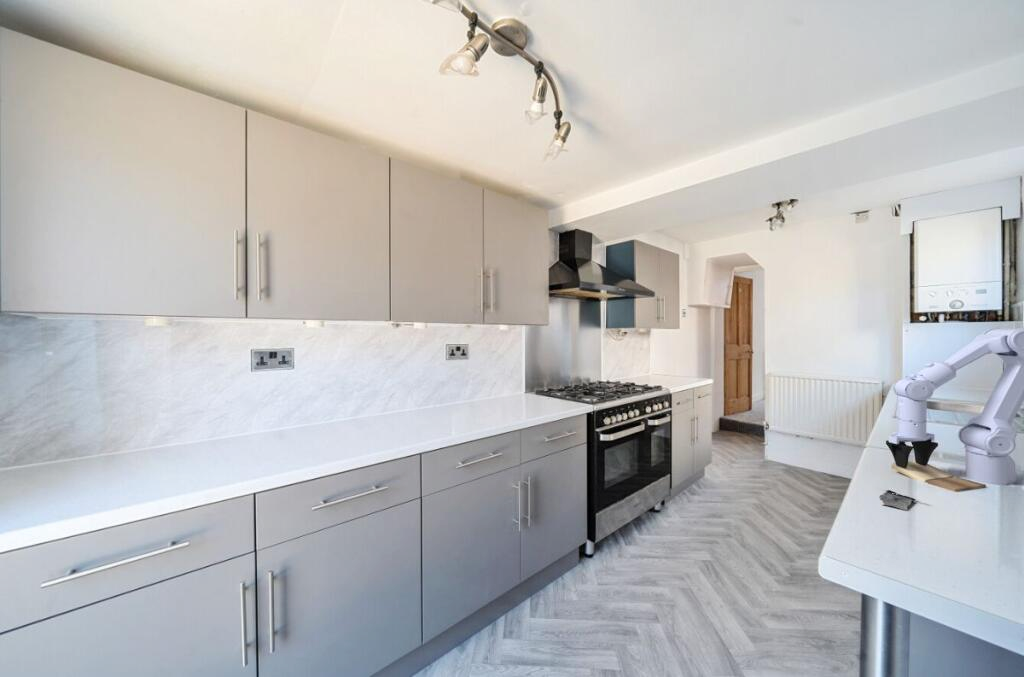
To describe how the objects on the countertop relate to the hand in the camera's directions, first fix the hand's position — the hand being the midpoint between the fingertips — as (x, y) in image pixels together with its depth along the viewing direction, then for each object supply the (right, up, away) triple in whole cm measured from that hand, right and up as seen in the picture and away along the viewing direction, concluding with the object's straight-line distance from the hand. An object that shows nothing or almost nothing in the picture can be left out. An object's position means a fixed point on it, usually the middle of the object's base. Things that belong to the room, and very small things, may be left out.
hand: (911, 465), depth 109 cm
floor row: (+2, -4, -4) cm, 5 cm away
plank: (+2, -2, -1) cm, 3 cm away
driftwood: (-15, -5, -12) cm, 20 cm away
